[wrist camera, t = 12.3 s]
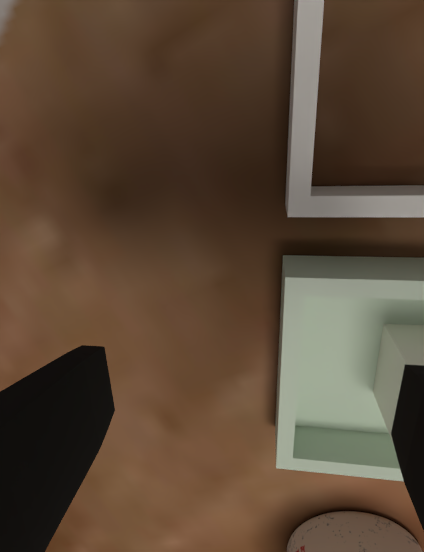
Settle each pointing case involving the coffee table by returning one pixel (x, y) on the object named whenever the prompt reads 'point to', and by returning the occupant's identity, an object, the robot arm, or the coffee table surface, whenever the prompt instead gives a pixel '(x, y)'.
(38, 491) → the robot arm
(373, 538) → the teacup with lid
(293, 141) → the bin
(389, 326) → the cream block
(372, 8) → the coffee table surface
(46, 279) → the coffee table surface
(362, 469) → the green bin
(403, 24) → the coffee table surface
